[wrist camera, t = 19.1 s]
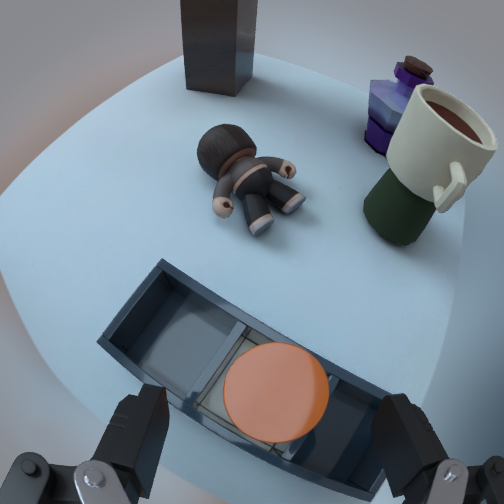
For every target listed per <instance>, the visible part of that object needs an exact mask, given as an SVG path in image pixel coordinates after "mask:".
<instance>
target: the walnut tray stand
mask: <svg viewBox="0 0 504 504" xmlns="http://www.w3.org/2000/svg"><path fill="white" fill-rule="evenodd" d="M257 4H258V0H180V5H181V23H182V39H183V53H184V66H185V78H186V89H190V90H197V91H204V92H211V93H217V94H223V95H228V96H235V95H236V94H237V93H238V92H239V90H240V89H241V88H242V87H243V86H244V85H245V83H246V82H247V81H248V80H249V79H250V78H251V76H252V71H253V57H254V43H255V30H256V16H257Z"/></svg>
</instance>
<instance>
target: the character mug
mask: <svg viewBox="0 0 504 504" xmlns="http://www.w3.org/2000/svg"><path fill="white" fill-rule="evenodd" d="M497 147H498V142H497V139H496V136H495V135H494V133H493V131H492V130H491V128H490V127H489V126H488V125H487V123H486V122H485V121H484V120H483V119H482V118H481V117H480V116H479V115H478V114H477V113H476V112H475V111H474V110H473V109H472V108H471V107H469V106H468V105H467V104H466V103H464V102H463V101H462V100H460V99H458V98H457V97H455V96H454V95H452V94H451V93H449V92H447V91H445V90H443V89H440V88H438V87H436V86H433V85H428V84H420V85H416V87H415V89H414V91H413V93H412V95H411V98H410V100H409V102H408V104H407V107H406V109H405V111H404V113H403V115H402V117H401V120H400V122H399V124H398V126H397V128H396V130H395V132H394V134H393V136H392V138H391V140H390V144H389V147H388V150H387V154H386V157H387V160H388V163H389V166H390V168H389V169H388V170H387V172H386V173H385V174H384V175H383V176H382V178H381V179H380V180H379V181H378V183H377V184H376V185H375V186H374V187H373V189H372V190H371V191H370V193H369V194H368V196H367V197H366V198H365V200H364V213H365V216H366V218H367V220H368V222H369V224H370V225H371V226H372V227H373V228H374V229H375V230H376V231H377V232H378V233H379V234H380V235H382V236H384V237H385V238H387V239H389V240H391V241H392V242H394V243H398V244H402V245H408V244H410V243H412V242H415V241H416V240H417V238H418V237H419V236H420V234H421V233H422V231H423V230H424V229H425V227H426V225H427V224H428V222H429V220H430V219H431V217H432V215H433V214H434V212H435V210H436V209H437V210H438V212H439V213H444V212H446V211H448V210H449V209H450V208H451V206H452V205H453V204H454V203H455V202H456V201H458V200H459V199H460V198H461V197H462V196H463V194H464V192H465V189H466V188H467V187H468V185H469V184H470V183H471V182H472V181H473V180H475V179H476V178H477V177H478V176H479V175H480V174H481V173H482V171H483V169H484V168H485V166H486V164H487V163H488V162H489V160H490V159H491V157H492V156H493V154H494V153H495V151H496V149H497Z"/></svg>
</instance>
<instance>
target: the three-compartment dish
mask: <svg viewBox="0 0 504 504" xmlns="http://www.w3.org/2000/svg"><path fill="white" fill-rule="evenodd" d="M269 342H285V343H290V344H294V345H296V346H299V347H301V348H303V349H305V350H307V351H308V352H309V353H311V354H312V355H313V356H314V357H315V358H316V359H317V360H318V361H319V363H320V364H321V366H322V367H323V369H324V371H325V373H326V376H327V379H328V383H329V400H328V404H327V408H326V410H325V413H324V415H323V416H322V418H321V420H320V421H319V422H318V424H317V425H316V426H315V427H314V428H313V429H312V430H311V431H309V432H308V433H307V434H305V435H303V436H302V437H300V438H298V439H295V440H293V441H289V442H284V443H265V442H261V441H258V440H255V439H252V438H250V437H249V436H247V435H245V434H244V433H242V432H241V431H240V430H239V429H238V428H237V427H236V426H235V425H234V424H233V422H232V421H231V420H230V418H229V416H228V414H227V412H226V409H225V406H224V402H223V386H224V381H225V378H226V375H227V373H228V371H229V369H230V367H231V366H232V364H233V363H234V362H235V361H236V359H237V358H238V357H239V356H241V355H242V354H243V353H244V352H246V351H247V350H249V349H251V348H253V347H255V346H257V345H260V344H264V343H269ZM97 343H98V344H99V345H100V346H101V347H102V348H103V349H104V350H105V351H106V352H108V353H109V354H110V355H111V356H112V357H113V358H114V359H115V360H116V361H118V362H119V363H120V364H121V365H122V366H123V367H125V368H126V369H127V370H128V371H129V372H130V373H132V374H133V375H134V376H135V377H136V378H138V379H139V380H140V381H141V382H143V383H144V384H150V385H155V386H161V387H165V388H166V393H167V400H168V402H169V403H170V404H172V405H173V406H174V407H176V408H177V409H179V410H180V411H182V412H183V413H184V414H186V415H187V416H189V417H190V418H192V419H193V420H195V421H196V422H198V423H199V424H201V425H203V426H204V427H206V428H207V429H209V430H210V431H212V432H214V433H215V434H217V435H219V436H220V437H222V438H224V439H225V440H227V441H229V442H230V443H232V444H234V445H236V446H237V447H239V448H241V449H243V450H245V451H247V452H248V453H250V454H252V455H254V456H256V457H258V458H260V459H262V460H264V461H266V462H268V463H270V464H272V465H274V466H276V467H278V468H280V469H282V470H284V471H287V472H289V473H291V474H293V475H296V476H298V477H300V478H303V479H305V480H307V481H310V482H312V483H315V484H317V485H320V486H323V487H325V488H328V489H331V490H334V491H336V492H339V493H342V494H345V495H348V496H351V497H354V498H358V499H361V500H364V501H368V502H371V500H372V499H373V497H374V496H375V494H376V493H377V491H378V490H379V488H380V486H381V485H382V483H383V482H384V480H385V478H386V475H385V472H384V469H383V466H382V463H381V460H380V458H379V455H378V452H377V449H376V447H375V444H374V441H373V438H372V436H371V431H370V427H371V422H372V419H373V417H374V416H375V414H376V412H377V410H378V408H379V406H380V404H381V402H382V399H383V398H384V396H386V395H393V394H391V393H389V392H387V391H385V390H383V389H381V388H379V387H377V386H375V385H373V384H371V383H369V382H367V381H365V380H364V379H362V378H360V377H358V376H356V375H354V374H352V373H350V372H348V371H347V370H345V369H343V368H341V367H339V366H337V365H335V364H334V363H332V362H330V361H328V360H326V359H325V358H323V357H321V356H319V355H317V354H316V353H314V352H312V351H310V350H309V349H307V348H305V347H303V346H302V345H300V344H298V343H296V342H295V341H293V340H291V339H289V338H288V337H286V336H284V335H283V334H281V333H279V332H277V331H276V330H274V329H272V328H271V327H269V326H267V325H266V324H264V323H262V322H261V321H259V320H257V319H256V318H254V317H252V316H251V315H249V314H248V313H246V312H244V311H243V310H241V309H239V308H238V307H236V306H235V305H233V304H231V303H230V302H228V301H227V300H225V299H223V298H222V297H220V296H219V295H217V294H216V293H214V292H212V291H211V290H209V289H208V288H206V287H205V286H203V285H202V284H200V283H199V282H197V281H195V280H194V279H192V278H191V277H189V276H188V275H186V274H185V273H183V272H182V271H180V270H179V269H177V268H176V267H174V266H173V265H171V264H170V263H168V262H167V261H165V260H164V259H161V260H160V261H159V262H158V263H157V265H156V266H155V267H154V268H153V269H152V271H151V272H150V273H149V274H148V276H147V277H146V278H145V279H144V281H143V282H142V283H141V284H140V286H139V287H138V288H137V289H136V291H135V292H134V293H133V294H132V296H131V297H130V298H129V299H128V301H127V302H126V303H125V305H124V306H123V307H122V308H121V310H120V311H119V312H118V314H117V315H116V316H115V318H114V319H113V320H112V322H111V323H110V324H109V326H108V327H107V328H106V330H105V331H104V332H103V335H101V336H100V338H99V339H98V340H97ZM411 405H412V404H411ZM417 407H418V406H417ZM418 408H420V407H418ZM420 409H421V408H420Z"/></svg>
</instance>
